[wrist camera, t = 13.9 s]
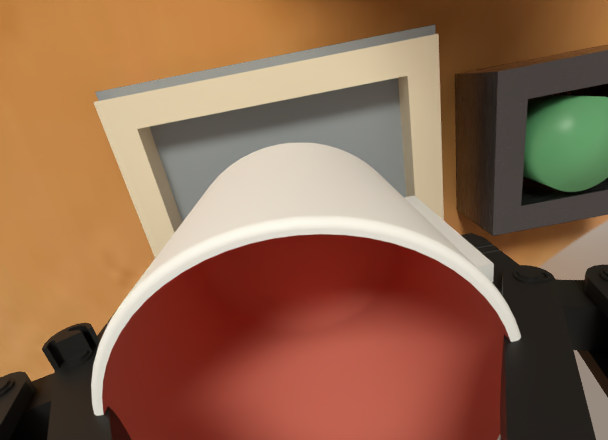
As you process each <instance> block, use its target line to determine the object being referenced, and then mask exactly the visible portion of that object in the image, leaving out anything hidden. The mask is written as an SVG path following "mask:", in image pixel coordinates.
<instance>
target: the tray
mask: <svg viewBox="0 0 608 440" xmlns="http://www.w3.org/2000/svg"><path fill="white" fill-rule="evenodd" d="M96 95H97V98H98V100H99V101H97V102H94V105H95V107H96V110H97V112H98V115H99V117H100V120H101V123H102V125H103V128H104V130H105V133H106V135H107V138H108V140H109V143H110V145H111V148H112V150H113V153H114V155H115V158H116V160H117V163H118V166H119V168H120V171H121V173H122V176H123V178H124V181H125V183H126V186H127V188H128V191H129V193H130V196H131V198H132V201H133V203H134V206H135V208H136V211H137V214H138V216H139V219H140V221H141V224H142V226H143V229H144V231H145V234H146V236H147V239H148V241H149V244H150V246H151V249H152V251H153V254H154V257H155V258H156V257H157V255H158V254H159V253H160V251H161V250H162V249H163V247H164V246H165V245H166V243H167V242H168V241H169V240H170V238H171V237H172V236H173V234H174V233H175V232H176V230H177V229H178V228H179V226H180V225H181V224H182V222H183V221H184V220H185V218H186V217H187V216H188V214H189V213H190V212H191V210H192V209H193V208H194V206H195V205H196V204H197V202H198V201H199V200H200V198H201V197H202V196H203V194H204V193H205V192H206V190H207V189H208V188H209V186H210V185H211V184H212V183H213V182H214V181H215V179H216V178H217V177H218V176H219V175H220V174H221V173H222V172H223V171H225V170H226V169H227V168H228V167H229V166H230V165H232V164H233V163H235V162H236V161H238V160H239V159H241V158H243V157H245V156H247V155H249V154H251V153H253V152H255V151H258V150H260V149H263V148H266V147H270V146H274V145H278V144H285V143H317V144H322V145H328V146H331V147H335V148H338V149H341V150H343V151H346V152H348V153H350V154H352V155H354V156H356V157H358V158H359V159H361V160H362V161H364V162H366V163H367V164H368V165H369V166H371V167H372V168H373V169H374V170H376V171H377V172H378V173H379V174H380V175H381V176H382V177H383V178H384V179H385V180H386V181H387V182H388V183H389V184H390V185H391V186H392V187H393V188H394V189H396V190H397V191H398V192H399V193H400V194H401V195H402V196H403V197H409V196H414V195H415V196H416V197H417V198H418V199H419V200H420V201H422V202H423V203H424V204H425V205H426V206H427V207H428V208H430V209H431V210H432V211H433V212H434V213H435V214H437V215H438V216H439V217H440V218H441V219H442V220H444V209H443V174H442V139H441V104H440V69H439V34H436V29H435V25H430V26H425V27H420V28H415V29H410V30H405V31H400V32H395V33H390V34H385V35H380V36H375V37H370V38H365V39H360V40H355V41H350V42H345V43H340V44H335V45H330V46H325V47H320V48H315V49H310V50H305V51H300V52H295V53H290V54H285V55H280V56H275V57H270V58H265V59H260V60H254V61H249V62H244V63H239V64H234V65H229V66H224V67H219V68H214V69H209V70H204V71H199V72H194V73H189V74H184V75H179V76H174V77H169V78H164V79H159V80H154V81H149V82H144V83H139V84H134V85H129V86H124V87H119V88H114V89H109V90H104V91H99V92H96Z"/></svg>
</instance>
